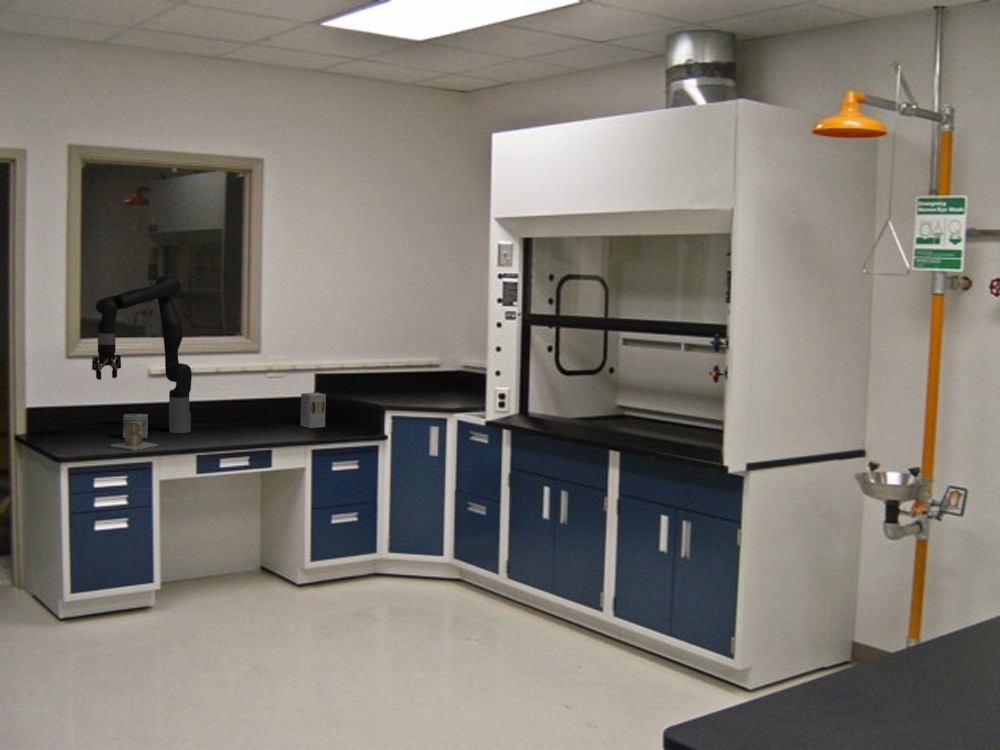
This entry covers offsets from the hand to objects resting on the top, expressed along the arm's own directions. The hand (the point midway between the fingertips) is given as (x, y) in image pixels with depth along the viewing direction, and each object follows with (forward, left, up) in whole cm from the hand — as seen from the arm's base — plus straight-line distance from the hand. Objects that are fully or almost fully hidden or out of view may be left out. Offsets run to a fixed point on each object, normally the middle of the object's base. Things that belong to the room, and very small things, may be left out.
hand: (106, 378), depth 489 cm
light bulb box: (-12, +5, -28) cm, 31 cm away
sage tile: (+4, +22, -28) cm, 36 cm away
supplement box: (-92, +44, -28) cm, 106 cm away
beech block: (+4, +22, -27) cm, 35 cm away
